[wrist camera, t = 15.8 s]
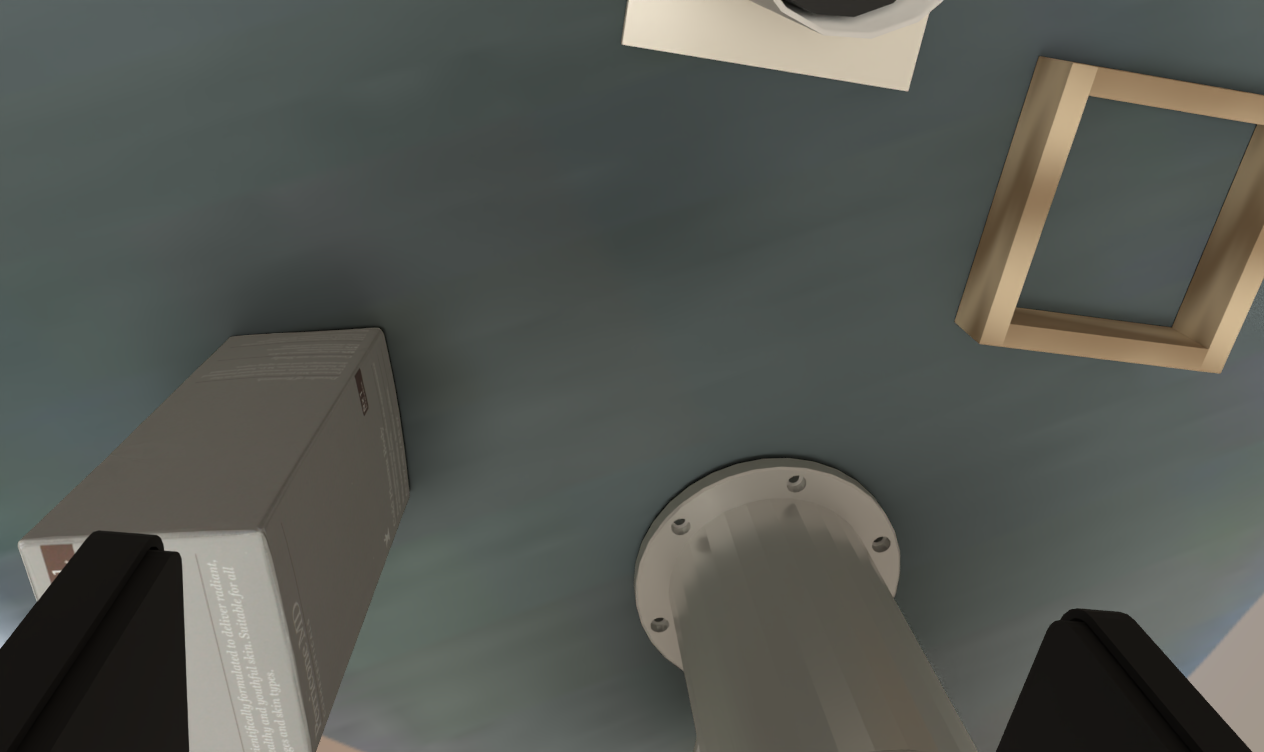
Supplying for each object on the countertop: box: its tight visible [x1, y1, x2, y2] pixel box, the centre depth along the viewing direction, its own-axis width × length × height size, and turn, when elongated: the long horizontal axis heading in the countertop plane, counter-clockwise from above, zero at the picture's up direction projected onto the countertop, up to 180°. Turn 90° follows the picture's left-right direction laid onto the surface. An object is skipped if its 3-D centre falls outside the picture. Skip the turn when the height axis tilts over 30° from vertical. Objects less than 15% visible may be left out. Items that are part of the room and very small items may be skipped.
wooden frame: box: [954, 56, 1264, 374], centre depth 37 cm, size 11×11×2 cm
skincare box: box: [18, 328, 410, 752], centre depth 32 cm, size 8×7×16 cm
